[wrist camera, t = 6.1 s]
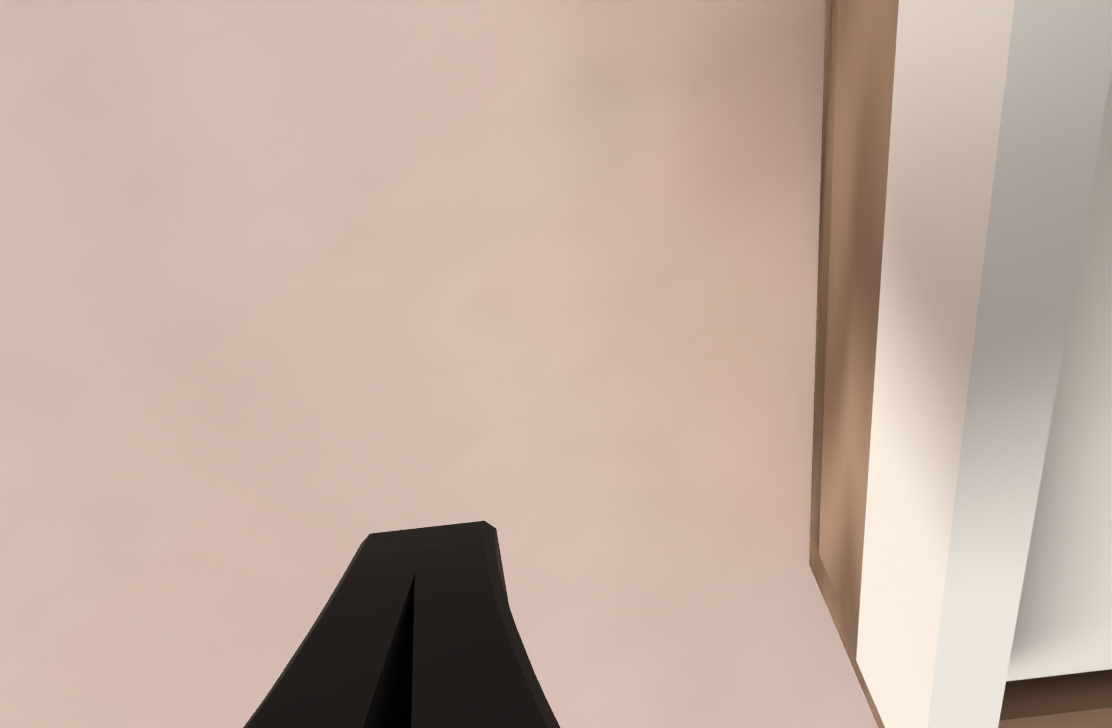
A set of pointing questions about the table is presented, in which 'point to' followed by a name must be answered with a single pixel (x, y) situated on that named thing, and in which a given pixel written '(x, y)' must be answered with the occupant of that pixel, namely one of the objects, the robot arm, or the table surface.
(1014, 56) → the lid
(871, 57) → the box
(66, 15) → the table surface
